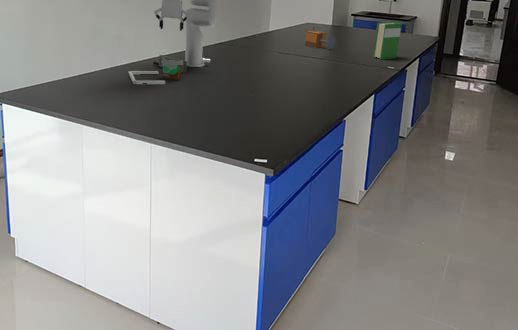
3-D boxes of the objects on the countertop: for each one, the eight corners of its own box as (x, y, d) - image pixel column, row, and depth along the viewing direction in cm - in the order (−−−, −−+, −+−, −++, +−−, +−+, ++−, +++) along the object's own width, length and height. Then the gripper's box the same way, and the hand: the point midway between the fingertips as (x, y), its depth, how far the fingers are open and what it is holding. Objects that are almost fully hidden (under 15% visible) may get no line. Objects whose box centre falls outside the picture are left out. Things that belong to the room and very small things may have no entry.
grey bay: (158, 74, 297) (158, 71, 296) (165, 84, 277) (165, 81, 277) (128, 73, 292) (128, 71, 291) (133, 84, 272) (133, 81, 272)
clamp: (325, 50, 410) (328, 30, 405) (304, 45, 423) (306, 26, 418) (334, 49, 417) (337, 29, 412) (313, 45, 430) (316, 25, 425)
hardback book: (380, 59, 391) (386, 24, 383) (372, 57, 396) (377, 22, 388) (396, 58, 402) (401, 23, 394) (387, 56, 407) (393, 22, 399)
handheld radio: (182, 73, 304) (151, 65, 317) (187, 73, 306) (155, 64, 320) (183, 61, 301) (151, 53, 315) (187, 60, 304) (156, 53, 318)
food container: (155, 77, 288) (156, 58, 285) (163, 76, 293) (163, 56, 290) (175, 82, 283) (176, 62, 280) (182, 80, 288) (183, 60, 285)
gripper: (190, -6, 279) (189, 30, 285) (155, -8, 279) (155, 27, 285) (188, -5, 272) (187, 32, 278) (152, -7, 272) (152, 29, 278)
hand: (171, 29), depth 282 cm, fingers open, 9 cm apart
